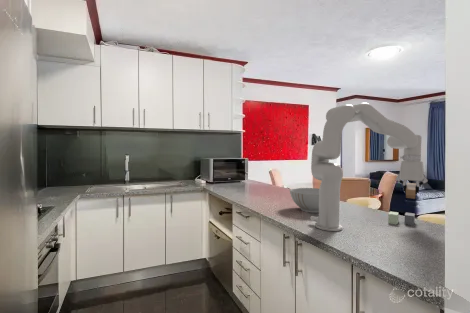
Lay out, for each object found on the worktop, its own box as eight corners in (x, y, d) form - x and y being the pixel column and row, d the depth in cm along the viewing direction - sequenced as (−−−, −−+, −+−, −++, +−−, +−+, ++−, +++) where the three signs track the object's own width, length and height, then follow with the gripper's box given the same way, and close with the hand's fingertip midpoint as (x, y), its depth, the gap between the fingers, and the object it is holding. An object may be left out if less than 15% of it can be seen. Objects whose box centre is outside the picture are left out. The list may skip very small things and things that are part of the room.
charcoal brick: (413, 226, 134) (414, 216, 134) (404, 224, 136) (404, 214, 136) (414, 223, 139) (414, 213, 139) (405, 221, 142) (405, 212, 142)
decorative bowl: (287, 213, 155) (287, 193, 155) (291, 204, 181) (291, 186, 181) (335, 217, 147) (336, 196, 147) (332, 207, 173) (333, 189, 173)
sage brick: (397, 224, 135) (397, 215, 135) (388, 223, 138) (388, 213, 138) (398, 221, 141) (398, 212, 141) (389, 220, 143) (390, 211, 143)
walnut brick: (415, 198, 135) (415, 190, 133) (405, 197, 137) (405, 189, 136) (416, 191, 140) (416, 183, 138) (407, 190, 142) (407, 182, 141)
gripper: (392, 158, 139) (391, 192, 139) (432, 159, 129) (430, 196, 129) (394, 157, 145) (393, 191, 145) (432, 158, 135) (430, 194, 135)
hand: (410, 193), depth 137 cm, fingers closed on walnut brick, 4 cm apart
